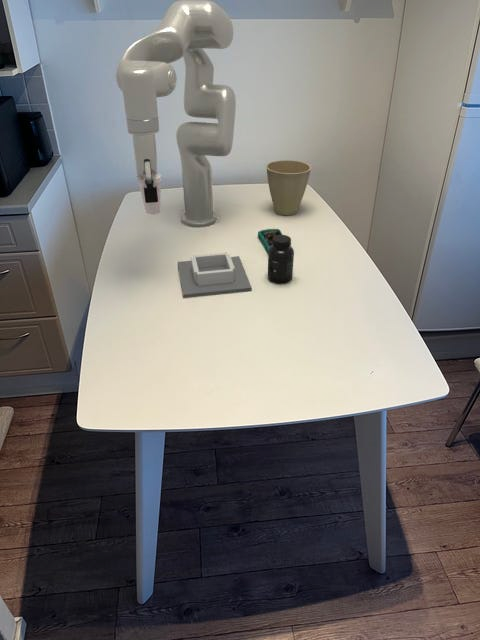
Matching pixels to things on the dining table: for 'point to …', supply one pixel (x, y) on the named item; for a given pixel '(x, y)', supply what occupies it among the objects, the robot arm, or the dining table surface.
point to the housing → (213, 275)
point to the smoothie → (155, 207)
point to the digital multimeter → (268, 237)
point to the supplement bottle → (280, 260)
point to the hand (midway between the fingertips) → (151, 196)
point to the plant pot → (287, 184)
